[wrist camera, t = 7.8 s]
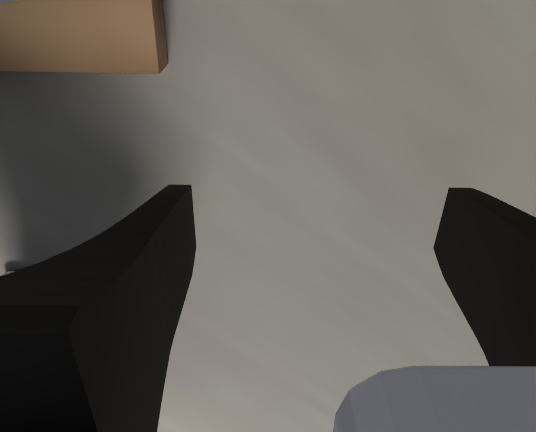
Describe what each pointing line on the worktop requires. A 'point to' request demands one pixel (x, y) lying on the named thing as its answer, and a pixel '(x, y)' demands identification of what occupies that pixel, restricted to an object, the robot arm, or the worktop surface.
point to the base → (83, 36)
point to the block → (5, 0)
